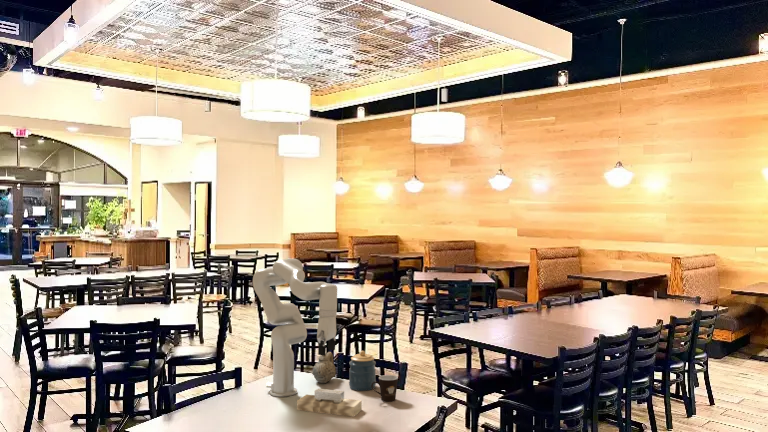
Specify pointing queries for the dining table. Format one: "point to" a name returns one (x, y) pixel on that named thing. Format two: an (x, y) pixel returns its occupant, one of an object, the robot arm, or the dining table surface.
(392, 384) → the coffee mug
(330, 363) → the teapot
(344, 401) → the rail
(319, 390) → the grey arched block
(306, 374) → the dining table surface
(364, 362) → the canister
